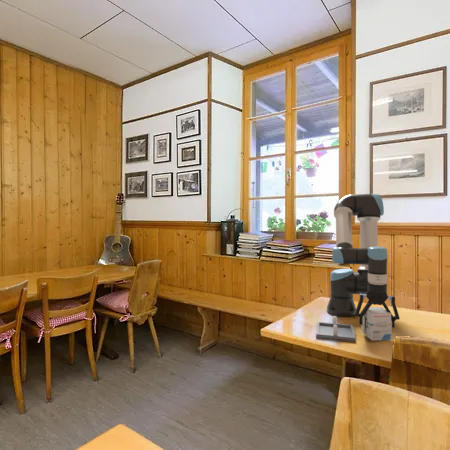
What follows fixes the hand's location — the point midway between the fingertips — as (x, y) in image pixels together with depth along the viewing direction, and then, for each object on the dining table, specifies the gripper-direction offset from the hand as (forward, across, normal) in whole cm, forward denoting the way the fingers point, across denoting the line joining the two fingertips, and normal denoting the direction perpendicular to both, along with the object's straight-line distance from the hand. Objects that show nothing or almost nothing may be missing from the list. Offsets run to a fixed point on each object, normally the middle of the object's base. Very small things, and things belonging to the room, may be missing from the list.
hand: (376, 333), depth 140 cm
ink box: (+2, 0, 0) cm, 2 cm away
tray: (+2, -17, +2) cm, 17 cm away
